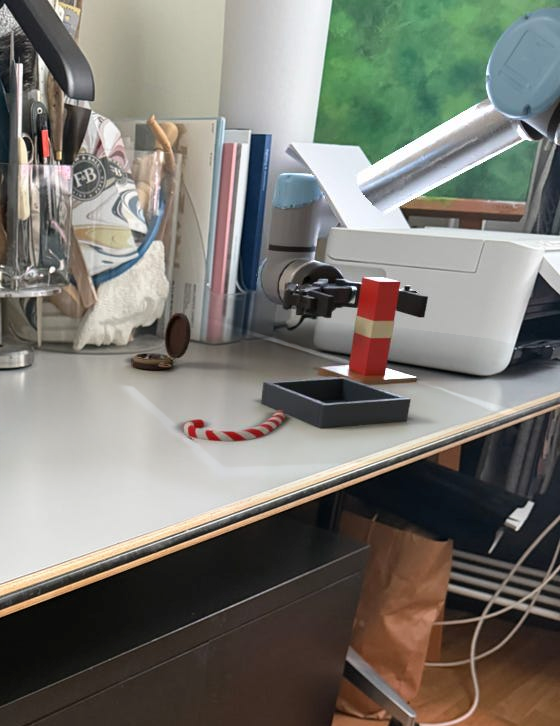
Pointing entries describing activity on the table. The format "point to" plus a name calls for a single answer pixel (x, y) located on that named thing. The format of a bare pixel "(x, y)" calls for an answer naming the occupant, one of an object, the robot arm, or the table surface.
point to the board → (344, 371)
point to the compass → (167, 345)
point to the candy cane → (193, 430)
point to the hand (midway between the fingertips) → (377, 307)
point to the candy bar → (374, 325)
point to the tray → (335, 402)
